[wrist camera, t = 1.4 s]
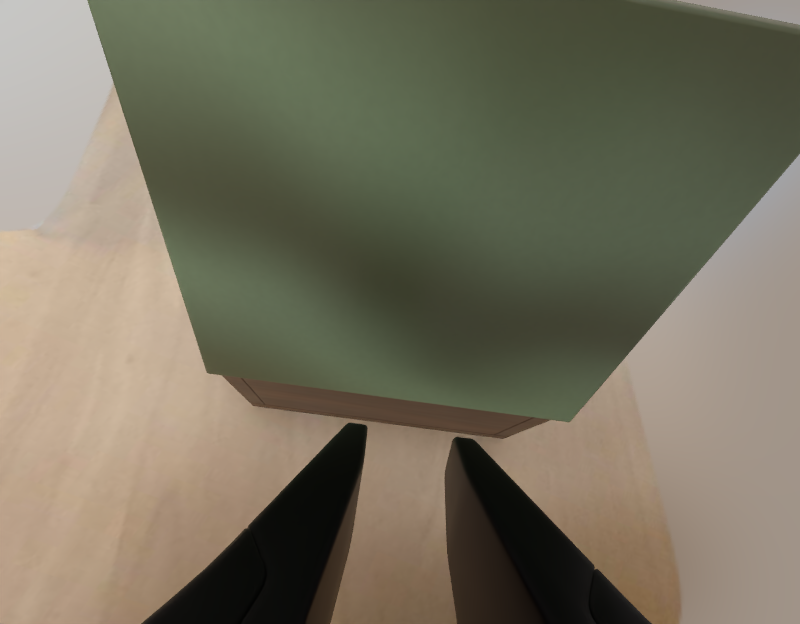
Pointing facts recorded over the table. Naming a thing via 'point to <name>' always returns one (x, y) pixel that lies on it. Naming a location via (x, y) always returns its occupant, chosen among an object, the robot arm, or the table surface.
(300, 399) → the chest
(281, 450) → the table surface
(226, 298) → the lid
